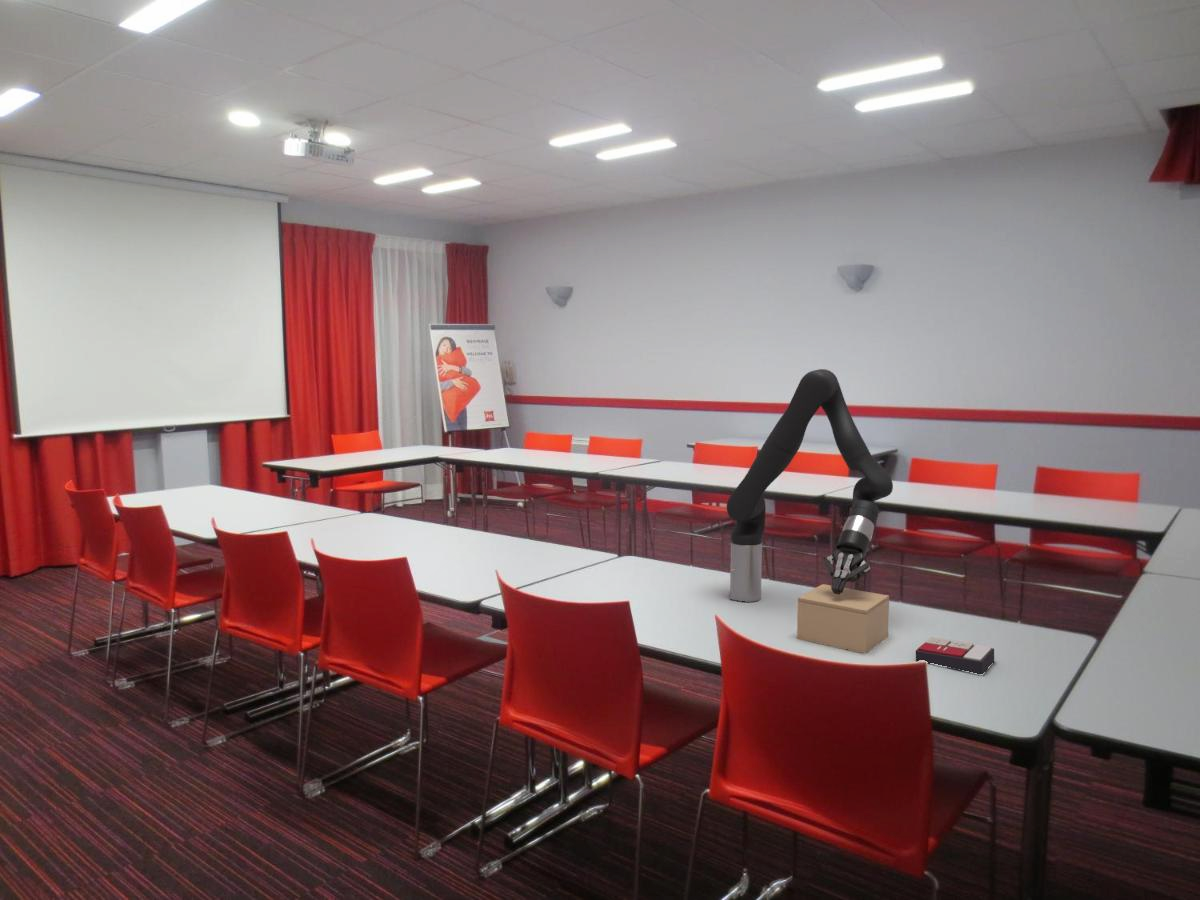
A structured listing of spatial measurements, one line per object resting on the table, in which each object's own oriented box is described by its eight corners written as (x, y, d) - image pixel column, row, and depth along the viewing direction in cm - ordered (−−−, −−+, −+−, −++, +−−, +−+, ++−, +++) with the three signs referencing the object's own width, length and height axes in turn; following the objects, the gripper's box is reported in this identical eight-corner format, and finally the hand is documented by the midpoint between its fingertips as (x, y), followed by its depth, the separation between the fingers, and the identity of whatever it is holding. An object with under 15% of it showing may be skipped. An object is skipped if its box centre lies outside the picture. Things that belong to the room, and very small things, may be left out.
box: (822, 622, 221) (823, 587, 220) (887, 636, 210) (889, 598, 209) (797, 638, 209) (797, 601, 208) (865, 653, 198) (866, 614, 196)
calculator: (929, 635, 201) (994, 645, 191) (930, 652, 201) (994, 662, 192) (914, 647, 193) (982, 658, 183) (915, 665, 193) (982, 677, 183)
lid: (822, 586, 220) (822, 584, 220) (888, 598, 209) (888, 595, 209) (797, 600, 208) (797, 597, 208) (866, 613, 196) (866, 610, 196)
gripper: (828, 525, 214) (807, 580, 206) (877, 532, 206) (857, 589, 198) (835, 541, 219) (815, 595, 211) (884, 548, 211) (864, 605, 203)
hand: (835, 592), depth 204 cm, fingers closed
